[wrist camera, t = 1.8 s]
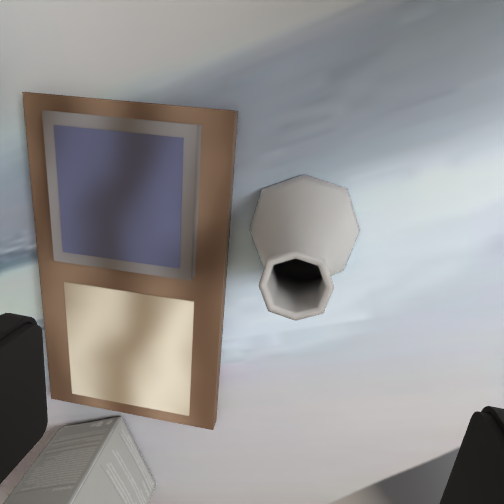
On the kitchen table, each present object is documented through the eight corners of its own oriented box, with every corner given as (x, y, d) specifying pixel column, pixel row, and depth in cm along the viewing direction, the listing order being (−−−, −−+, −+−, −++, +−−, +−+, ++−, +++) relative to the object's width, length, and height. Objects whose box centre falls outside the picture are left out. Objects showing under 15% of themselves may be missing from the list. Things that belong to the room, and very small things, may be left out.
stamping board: (238, 111, 24) (230, 110, 22) (216, 420, 32) (209, 440, 30) (33, 93, 26) (9, 90, 24) (58, 390, 34) (42, 407, 32)
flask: (251, 277, 28) (217, 355, 18) (248, 174, 26) (208, 203, 16) (356, 281, 27) (377, 365, 17) (362, 173, 24) (390, 203, 15)
